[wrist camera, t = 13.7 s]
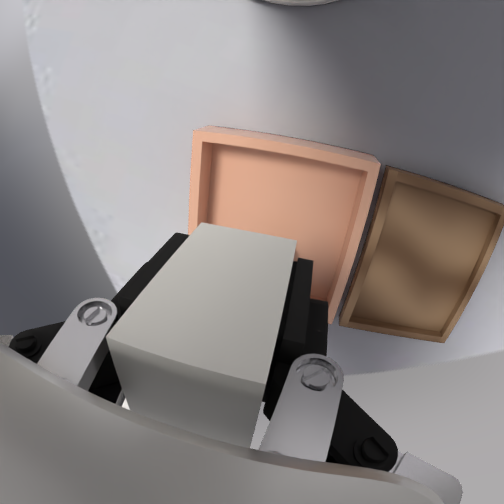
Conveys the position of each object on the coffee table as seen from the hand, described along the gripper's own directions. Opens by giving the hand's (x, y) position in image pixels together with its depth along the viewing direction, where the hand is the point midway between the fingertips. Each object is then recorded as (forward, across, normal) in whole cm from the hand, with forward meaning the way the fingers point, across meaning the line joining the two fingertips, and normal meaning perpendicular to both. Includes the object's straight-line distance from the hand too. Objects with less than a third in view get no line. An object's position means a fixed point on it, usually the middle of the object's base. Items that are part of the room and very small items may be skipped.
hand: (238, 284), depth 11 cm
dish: (+14, 0, +4) cm, 14 cm away
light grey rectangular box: (+1, 0, 0) cm, 1 cm away
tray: (+14, -13, +5) cm, 20 cm away
